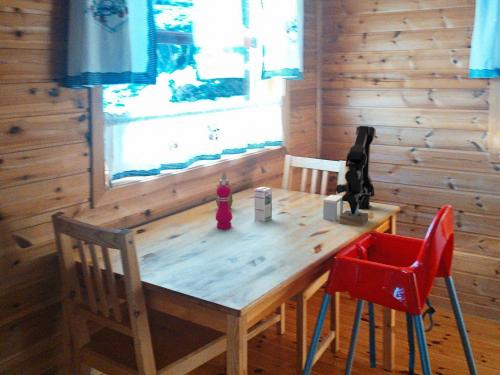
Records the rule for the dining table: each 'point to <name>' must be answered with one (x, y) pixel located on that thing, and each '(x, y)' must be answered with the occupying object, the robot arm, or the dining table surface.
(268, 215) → the syrup box
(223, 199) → the pepper mill
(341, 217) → the socket
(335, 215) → the small white footstool
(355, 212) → the peg
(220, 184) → the squeeze bottle
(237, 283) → the dining table surface
